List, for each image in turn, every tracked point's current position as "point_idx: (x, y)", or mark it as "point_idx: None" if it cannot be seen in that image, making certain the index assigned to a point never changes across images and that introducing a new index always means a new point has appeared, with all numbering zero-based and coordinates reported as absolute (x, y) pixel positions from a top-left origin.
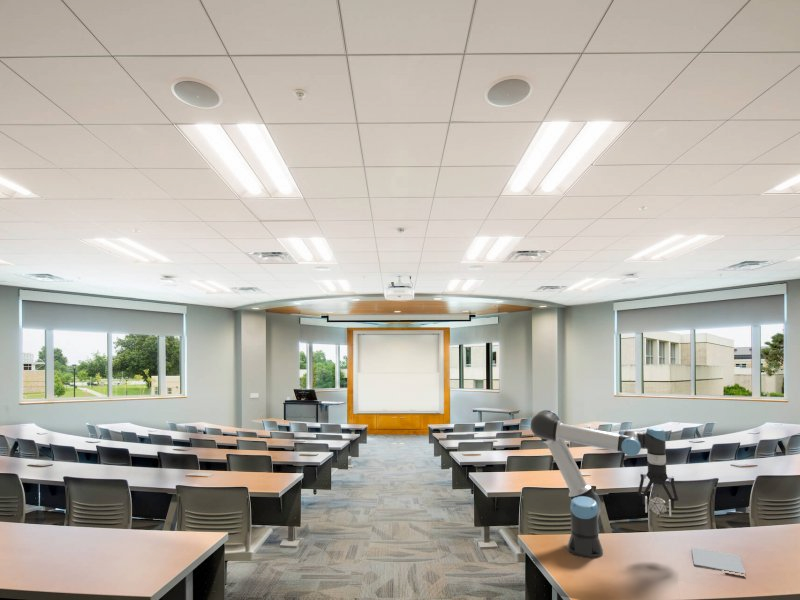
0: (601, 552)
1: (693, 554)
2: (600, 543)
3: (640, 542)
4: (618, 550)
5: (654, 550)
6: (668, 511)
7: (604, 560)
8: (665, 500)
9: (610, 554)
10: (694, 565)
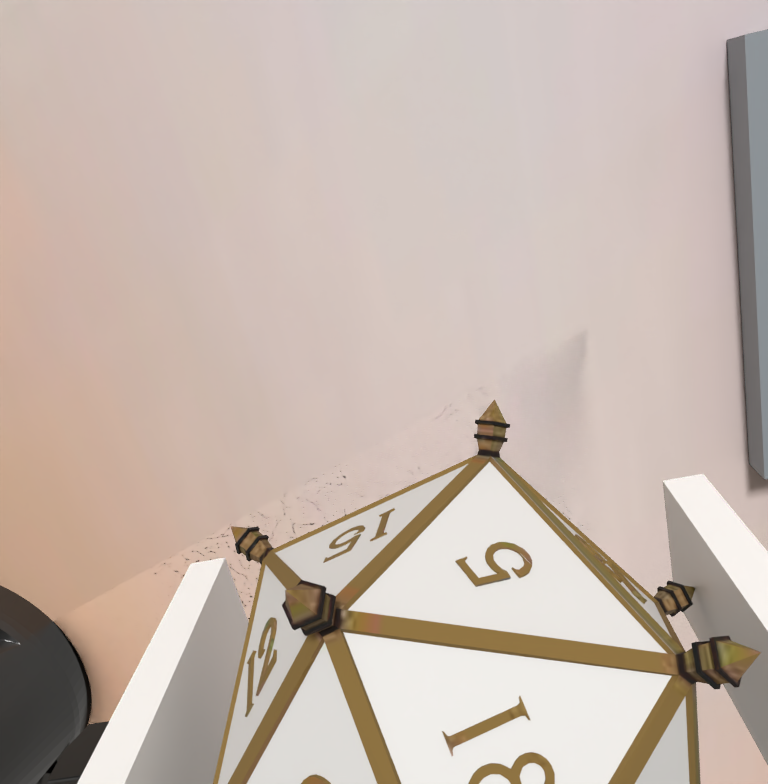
0: (72, 717)
1: (762, 250)
2: (12, 720)
3: (204, 193)
4: (127, 512)
5: (379, 310)
6: (685, 605)
7: None
8: (699, 673)
9: (115, 617)
10: (762, 474)
